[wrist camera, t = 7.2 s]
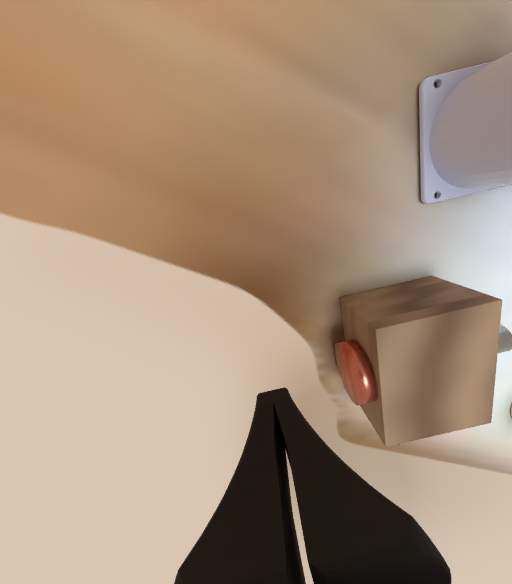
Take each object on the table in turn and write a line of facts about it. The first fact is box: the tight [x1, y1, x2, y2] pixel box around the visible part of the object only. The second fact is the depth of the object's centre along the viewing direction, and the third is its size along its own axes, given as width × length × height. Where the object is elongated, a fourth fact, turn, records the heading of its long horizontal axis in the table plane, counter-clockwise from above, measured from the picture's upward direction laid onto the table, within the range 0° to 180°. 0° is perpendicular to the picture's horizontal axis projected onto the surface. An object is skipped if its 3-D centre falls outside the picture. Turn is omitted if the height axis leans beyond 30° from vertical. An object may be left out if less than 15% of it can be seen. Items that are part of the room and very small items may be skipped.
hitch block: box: [340, 276, 502, 447], centre depth 20 cm, size 8×10×6 cm
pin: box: [335, 325, 512, 405], centre depth 20 cm, size 12×5×5 cm, turn 103°
